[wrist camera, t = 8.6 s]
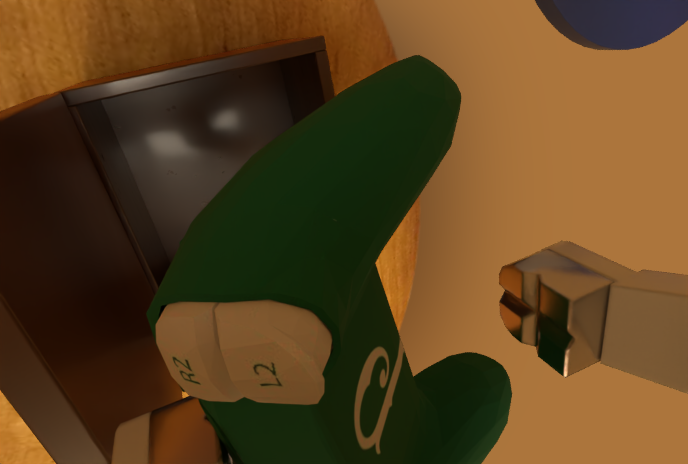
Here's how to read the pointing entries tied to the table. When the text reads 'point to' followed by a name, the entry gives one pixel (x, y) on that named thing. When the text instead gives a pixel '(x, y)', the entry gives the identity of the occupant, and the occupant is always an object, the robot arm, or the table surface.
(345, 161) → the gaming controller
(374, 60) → the table surface
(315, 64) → the chest
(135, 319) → the lid
